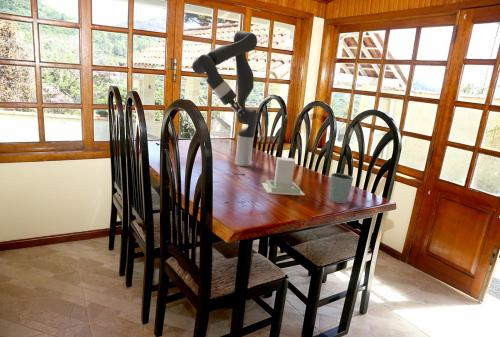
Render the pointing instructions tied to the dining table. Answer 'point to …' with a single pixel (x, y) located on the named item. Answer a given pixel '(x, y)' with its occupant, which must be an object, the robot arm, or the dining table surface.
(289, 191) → the tray
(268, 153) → the dining table surface
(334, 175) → the grey plant pot
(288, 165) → the skincare box
